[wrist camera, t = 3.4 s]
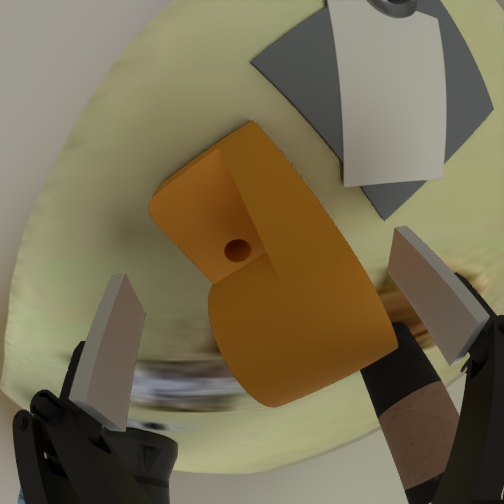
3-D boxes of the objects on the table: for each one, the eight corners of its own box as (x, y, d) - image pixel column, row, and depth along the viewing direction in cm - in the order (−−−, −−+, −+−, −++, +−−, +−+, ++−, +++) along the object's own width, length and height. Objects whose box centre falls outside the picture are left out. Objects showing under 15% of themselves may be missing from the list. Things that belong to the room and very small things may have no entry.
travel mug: (410, 310, 25) (494, 462, 9) (406, 345, 30) (467, 471, 13) (349, 339, 26) (416, 511, 10) (354, 370, 30) (404, 507, 14)
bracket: (151, 189, 16) (72, 351, 6) (250, 119, 14) (336, 184, 4) (247, 295, 21) (273, 446, 11) (329, 248, 20) (409, 388, 10)
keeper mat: (225, 63, 12) (225, 62, 12) (400, -42, 7) (405, -44, 6) (376, 233, 19) (380, 237, 19) (492, 116, 14) (497, 117, 14)
